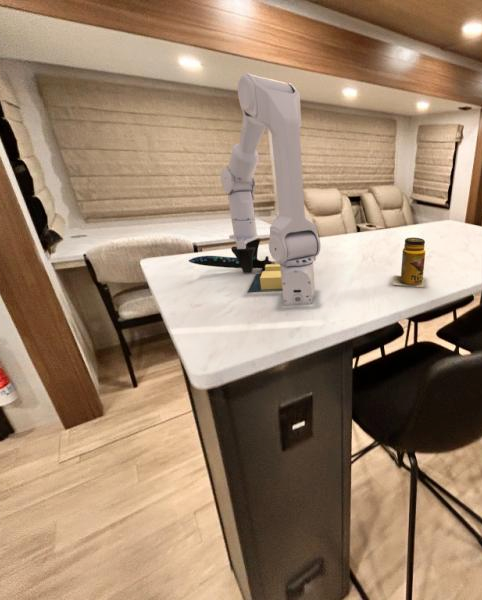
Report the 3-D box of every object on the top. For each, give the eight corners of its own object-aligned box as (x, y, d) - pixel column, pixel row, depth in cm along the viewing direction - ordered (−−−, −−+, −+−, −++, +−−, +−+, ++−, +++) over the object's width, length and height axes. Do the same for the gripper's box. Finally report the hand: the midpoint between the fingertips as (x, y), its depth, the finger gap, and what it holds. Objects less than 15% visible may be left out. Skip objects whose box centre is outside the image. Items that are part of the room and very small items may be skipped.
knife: (307, 272, 92) (307, 258, 91) (307, 275, 90) (307, 260, 88) (193, 267, 85) (191, 251, 83) (189, 271, 82) (187, 254, 81)
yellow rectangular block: (287, 288, 75) (286, 277, 74) (261, 289, 74) (259, 277, 73) (288, 281, 80) (287, 270, 79) (264, 282, 79) (262, 271, 77)
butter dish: (299, 293, 75) (299, 290, 75) (247, 295, 73) (246, 292, 72) (301, 274, 88) (301, 272, 87) (256, 276, 85) (256, 273, 85)
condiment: (423, 287, 82) (428, 243, 77) (392, 285, 83) (394, 241, 78) (423, 278, 89) (427, 237, 84) (394, 276, 89) (396, 235, 84)
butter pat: (289, 276, 83) (288, 266, 82) (266, 277, 82) (264, 266, 81) (290, 274, 85) (289, 263, 84) (267, 275, 84) (265, 264, 83)
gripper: (233, 214, 87) (240, 260, 92) (219, 223, 74) (228, 277, 79) (259, 214, 88) (265, 260, 94) (250, 223, 75) (257, 276, 81)
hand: (250, 268), depth 87 cm, fingers open, 7 cm apart
